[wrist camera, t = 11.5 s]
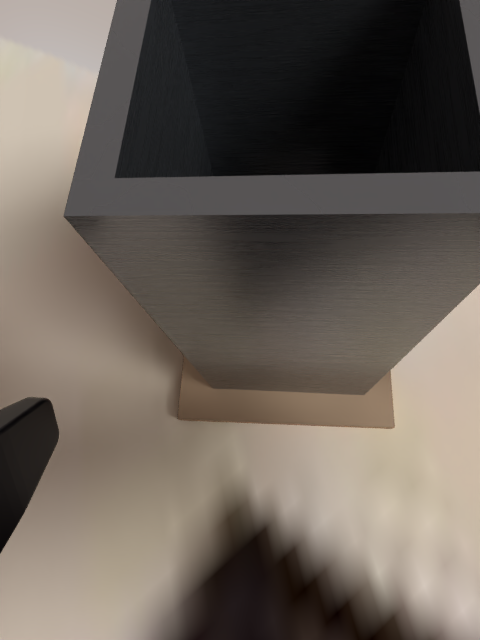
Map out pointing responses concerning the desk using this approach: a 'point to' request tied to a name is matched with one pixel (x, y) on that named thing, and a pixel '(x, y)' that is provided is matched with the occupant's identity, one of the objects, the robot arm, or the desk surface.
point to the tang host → (284, 405)
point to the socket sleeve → (287, 180)
